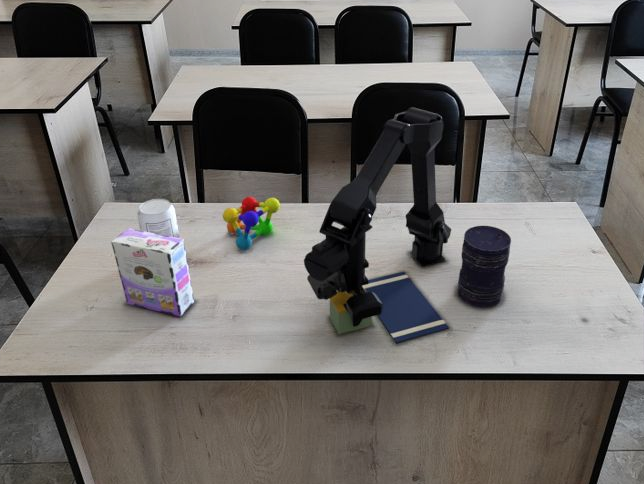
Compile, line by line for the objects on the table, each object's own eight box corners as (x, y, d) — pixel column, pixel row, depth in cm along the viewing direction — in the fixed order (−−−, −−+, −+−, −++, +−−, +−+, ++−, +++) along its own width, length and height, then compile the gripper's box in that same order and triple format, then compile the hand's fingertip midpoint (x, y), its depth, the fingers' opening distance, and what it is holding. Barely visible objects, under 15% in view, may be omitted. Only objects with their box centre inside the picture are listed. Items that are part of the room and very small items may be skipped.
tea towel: (404, 272, 141) (404, 271, 141) (448, 328, 124) (449, 327, 124) (356, 284, 137) (356, 282, 137) (396, 343, 120) (396, 342, 120)
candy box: (195, 301, 131) (185, 238, 123) (180, 318, 127) (168, 253, 118) (142, 288, 135) (128, 226, 127) (125, 304, 130) (109, 240, 122)
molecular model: (221, 231, 156) (247, 180, 155) (261, 253, 156) (288, 202, 155) (204, 236, 141) (234, 179, 140) (249, 260, 141) (279, 204, 140)
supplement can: (140, 266, 143) (128, 211, 135) (162, 248, 149) (152, 194, 141) (168, 273, 140) (158, 218, 132) (190, 255, 146) (180, 201, 139)
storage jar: (471, 312, 128) (479, 255, 121) (448, 286, 136) (454, 230, 128) (511, 302, 132) (521, 245, 124) (486, 276, 139) (494, 221, 132)
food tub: (362, 309, 129) (362, 285, 126) (372, 326, 125) (373, 302, 122) (328, 317, 127) (328, 294, 124) (338, 335, 122) (338, 311, 119)
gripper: (296, 239, 122) (299, 299, 130) (327, 292, 107) (329, 357, 115) (347, 228, 125) (347, 288, 134) (384, 278, 111) (382, 342, 119)
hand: (350, 317), depth 125 cm, fingers closed on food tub, 5 cm apart
